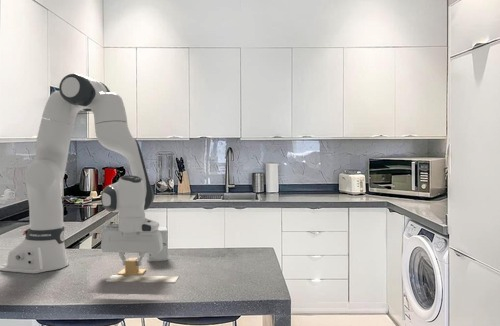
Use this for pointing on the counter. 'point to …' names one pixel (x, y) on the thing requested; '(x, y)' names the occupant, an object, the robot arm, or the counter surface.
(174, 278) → the board
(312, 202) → the counter surface
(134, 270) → the stepped wooden block
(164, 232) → the supplement box
